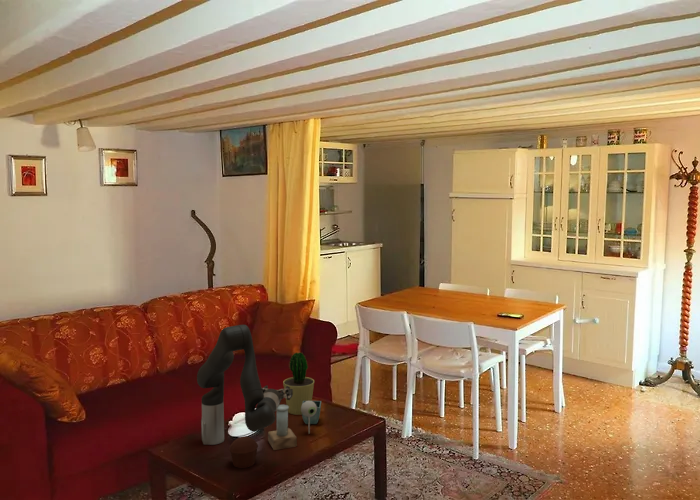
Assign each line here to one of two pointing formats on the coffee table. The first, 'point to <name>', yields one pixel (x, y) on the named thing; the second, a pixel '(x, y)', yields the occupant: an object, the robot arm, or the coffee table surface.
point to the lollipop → (308, 411)
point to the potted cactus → (298, 384)
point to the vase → (282, 420)
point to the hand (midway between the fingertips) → (277, 387)
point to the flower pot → (314, 418)
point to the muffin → (243, 452)
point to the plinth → (282, 440)
